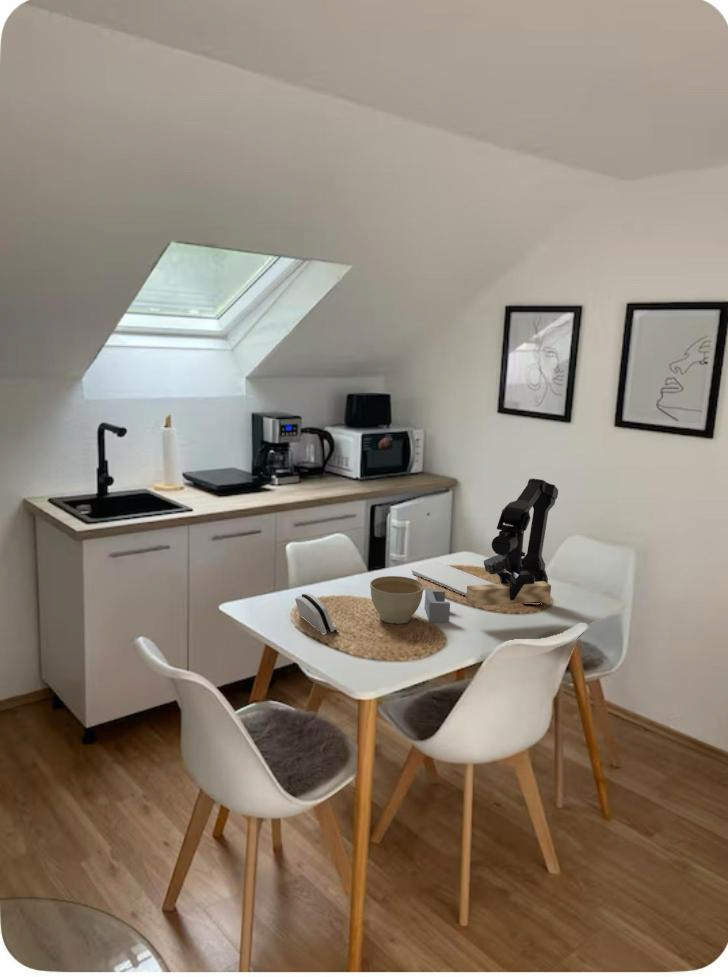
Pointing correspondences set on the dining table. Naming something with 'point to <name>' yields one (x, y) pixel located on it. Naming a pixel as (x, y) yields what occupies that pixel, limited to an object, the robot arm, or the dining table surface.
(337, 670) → the dining table surface
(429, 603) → the end cap
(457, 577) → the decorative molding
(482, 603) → the oak slat
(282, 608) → the dining table surface
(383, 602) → the planter bowl
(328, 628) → the grey black arched block
